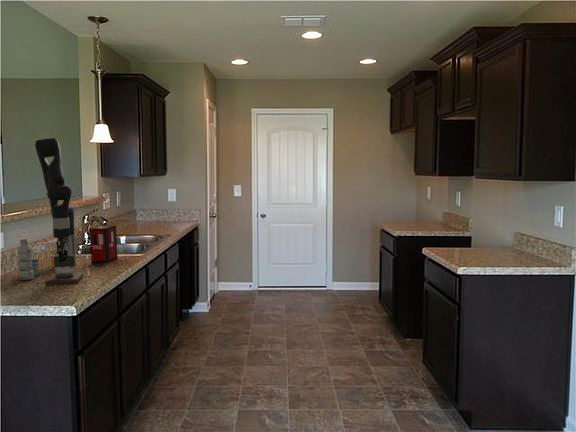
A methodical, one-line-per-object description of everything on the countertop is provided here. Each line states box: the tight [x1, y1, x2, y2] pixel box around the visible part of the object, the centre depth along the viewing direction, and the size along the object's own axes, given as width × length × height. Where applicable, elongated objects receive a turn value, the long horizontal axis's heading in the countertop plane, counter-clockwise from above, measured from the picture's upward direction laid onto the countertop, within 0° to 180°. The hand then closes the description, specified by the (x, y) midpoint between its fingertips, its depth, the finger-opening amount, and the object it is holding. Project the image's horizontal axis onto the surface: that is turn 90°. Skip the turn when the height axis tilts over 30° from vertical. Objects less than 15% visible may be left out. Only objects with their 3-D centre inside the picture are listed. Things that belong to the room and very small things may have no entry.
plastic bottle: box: [17, 238, 34, 281], centre depth 242 cm, size 6×7×20 cm
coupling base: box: [45, 272, 84, 286], centre depth 240 cm, size 14×14×2 cm
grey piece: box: [50, 254, 77, 278], centre depth 239 cm, size 10×8×10 cm
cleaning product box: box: [89, 225, 118, 265], centre depth 290 cm, size 16×9×20 cm, turn 179°
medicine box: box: [17, 258, 40, 278], centre depth 250 cm, size 8×4×9 cm, turn 149°
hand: (63, 260), depth 239 cm, fingers open, 8 cm apart
